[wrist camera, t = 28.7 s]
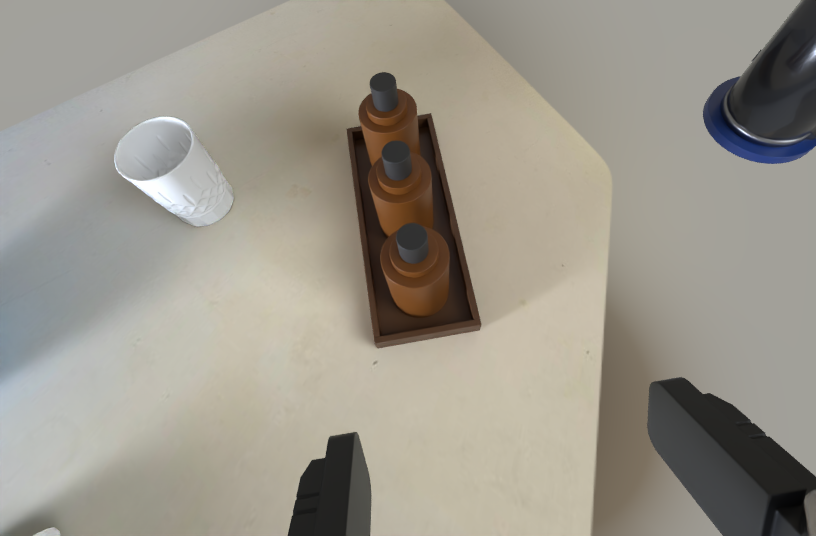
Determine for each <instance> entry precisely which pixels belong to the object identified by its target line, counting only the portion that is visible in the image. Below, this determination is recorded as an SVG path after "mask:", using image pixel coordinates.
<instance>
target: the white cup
mask: <svg viewBox="0 0 816 536" xmlns="http://www.w3.org/2000/svg"><path fill="white" fill-rule="evenodd" d="M114 162H115V166H116V168H117V170H118V172H119V173H120V174H121V175H122V176H123V177H125V178H126V179H127V180H129V181H130V182H131V183H132V184H134V185H135V186H136V187H138V188H139V189H140V190H142V191H143V192H144V193H145V194H147V195H148V196H149V197H151V198H152V199H153V200H155V201H156V202H157V203H159V204H160V205H162V206H163V207H164V208H166V209H167V210H168V211H170V212H172V213H173V214H175V215H176V216H177V217H179V218H180V219H181V220H183V221H184V222H185V223H188V224H191V225H193V226H208V225H211V224H213V223H215V222H217V221H219V220H221V219H222V218H223V217H224V216H225V215H226V214H227V213H228V211H229V210H230V208H231V206H232V203H233V200H234V196H233V189H232V187H231V186H230V184H229V183H228V182H227V180H226V179H225V177H224V176H223V174H222V172H221V170H220V169H219V167H218V166H217V164H216V163H215V161H214V159H213V158H212V157H211V155H210V154H209V152H208V151H207V150H206V148H205V147H204V145H203V144H202V143H201V141H200V140H199V138H198V137H197V136H196V134H195V133H194V131H193V130H192V129H191V127H190V126H189V125H188V124H187V123H186V122H185V121H183V120H182V119H179V118H177V117H172V116H159V117H154V118H151V119H148V120H145V121H143V122H141V123H139V124H137V125H136V126H134V127H133V128H132V129H130V130H129V131H128V132H127V133H126V134H125V135H124V136H123V138H122V139H121V140H120V142H119V144H118V146H117V148H116V151H115V156H114Z"/></svg>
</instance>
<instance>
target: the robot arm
mask: <svg viewBox="0 0 816 536" xmlns="http://www.w3.org/2000/svg"><path fill="white" fill-rule="evenodd" d="M752 61H753V62H752V63H751V65H750V66H749V67H748V68H747V69H746V71H745V72H744V73H743V75H742V76H741V77H740V78H739V80H738V81H737V82H736V83H735V84H734V85H733V86H732V87H731V88H730V89H729V91H728V92H727V93H726V94H725V96H724V97H723V99H722V102H721V114H722V117H723V119H724V121H725V123H726V124H727V126H728V127H729V128H730V129H731V130H732V131H733V132H734V133H736V134H737V135H738V136H740V137H741V138H743V139H745V140H747V141H749V142H751V143H754V144H757V145H761V146H765V147H775V148H779V147H788V146H792V145H795V144H797V143H799V142H801V141H803V140H805V139H809V140H814V139H815V138H816V0H801V1H800V3H799V4H798V5H797V6H796V8H795V9H794V10H793V11H792V13H791V14H790V15H789V17H788V18H787V19H786V20H785V22H784V23H783V24H782V25H781V27H780V28H779V29H778V30H777V32H776V33H775V34H774V35H773V37H772V38H771V39H770V40H769V42H768V43H767V44H766V45H765V47H764V48H763V49H762V50H760V51H759V53H758V54H757V55H756V57H755V58H754V59H753V60H752ZM647 426H648V434H649V437H650V440H651V442H652V444H653V446H654V448H655V450H656V451H657V452H658V454H659V455H660V456H661V457H662V459H663V460H664V461H665V462H666V464H667V465H668V466H669V468H670V469H671V470H672V471H673V473H674V474H675V475H676V477H677V478H678V479H679V480H680V482H681V483H682V484H683V486H684V487H685V488H686V489H687V491H688V492H689V493H690V494H691V495H692V497H693V498H694V499H695V501H696V502H697V503H698V505H699V506H700V507H701V508H702V510H703V511H704V512H705V513H706V515H707V516H708V517H709V519H710V520H711V521H712V522H713V524H714V525H715V526H716V528H717V529H718V530H719V531H720V533H721V534H722V535H723V536H816V477H815V476H814V475H813V474H812V473H811V472H810V471H809V470H807V469H806V468H805V467H804V466H803V465H802V464H800V463H799V462H798V461H797V460H796V459H795V458H794V457H792V456H791V455H790V454H789V453H788V452H787V451H785V450H784V449H783V448H782V447H781V446H780V445H778V444H777V443H776V442H775V441H774V440H773V439H772V438H770V437H767V436H766V435H765V432H763V431H762V430H761V429H760V428H759V427H758V426H756V425H755V424H754V423H753V424H752V423H751V421H750V419H748V418H747V417H746V416H745V415H744V414H742V413H741V412H740V411H739V410H738V409H737V408H736V407H734V406H733V405H732V404H730V403H728V402H726V401H724V400H722V399H720V398H718V397H716V396H714V395H712V394H710V393H708V394H702V393H701V392H700V391H699V390H698V389H696V388H695V387H694V386H693V385H692V384H691V383H690V382H689V381H688V380H686V379H685V378H682V377H679V378H673V379H667V380H661V381H655V382H652V383H651V384H650V388H649V406H648V424H647ZM296 497H297V500H296V501H295V505H294V510H293V516H292V519H291V523H290V528H289V532H288V536H370V525H371V484H370V477H369V472H368V468H367V465H366V461H365V457H364V453H363V450H362V446H361V442H360V439H359V435H358V433H357V432H353V433H347V434H341V435H335V436H330V437H329V439H328V445H327V451H326V457H325V458H322V459H316V460H312V461H311V462H310V464H309V465H308V467H307V469H306V470H305V472H304V473H303V475H302V476H301V478H300V483H299V487H298V492H297V496H296Z"/></svg>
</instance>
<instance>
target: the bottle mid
mask: <svg viewBox="0 0 816 536" xmlns="http://www.w3.org/2000/svg"><path fill="white" fill-rule="evenodd" d="M381 154H382V157H380V158H379V159H378V160H377V161H376V162H375V163H374V164H373V166H372V167H371V169H370V172H369V176H368V182H369V186H370V190H371V193H372V197H373V200H374V204H375V207H376V211H377V214H378V218H379V221H380V225H381V228H382V231H383V233H384V235H385V236H386V237H387V238H388V237H389V236H390V235H392V234H393V233H394V232H395V231H397V230H399V229H400V228H401V227H402V226H403V225H405V224H408V223H417V224H419V225H421V226H425V227H428V228H431V229H432V228H433V224H434V217H433V196H432V176H431V169H430V167H429V165H428V163H427V162H426V161H425V160H424V159H423V158H422V157H421V156H419V155H418V154H415V153H413V152H410V149H409V146H408V145H407V144H406V143H404V142H402V141H397V140H396V141H391V142H389V143H387V144H386V145H385V146H384V147H383V149H382V153H381Z"/></svg>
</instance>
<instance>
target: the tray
mask: <svg viewBox="0 0 816 536" xmlns="http://www.w3.org/2000/svg"><path fill="white" fill-rule="evenodd" d="M417 117H418V129H419V141H420V154H421V157H422V158H423V159H424V160H425V161H426V162H427V163H428V165H429V167H430V169H431V176H432V196H433V217H434V224H433V228H432V229H433V230H434V231H436V232H437V233H439V234H440V235H441V236H442V237H443V239H444V240H445V241H446V243H447V246H448V248H449V256H450V259H449V293H448V298H447V301H446V303H445V305H444V306H443V307H442V309H441V310H440V311H438V312H437V313H435V314H434V315H432V316H429V317H425V318H415V317H411V316H408V315H406V314H404V313H403V312H401V311H400V310H399V309H398V308H397V306H396V305H395V303H394V301H393V298H392V295H391V292H390V289H389V287H388V284H387V281H386V278H385V275H384V272H383V269H382V266H381V261H380V255H381V250H382V247H383V245H384V243H385V241H386V240H387V239H388V238H387V237H386V236H385V235H384V233H383V231H382V228H381V225H380V221H379V218H378V214H377V211H376V207H375V204H374V200H373V197H372V193H371V190H370V186H369V182H368V176H369V172H370V169H371V167H372V166H371V162H370V158H369V154H368V150H367V147H366V143H365V139H364V135H363V131H362V127H361V126H359V127H354V128H348V129H347V136H348V143H349V151H350V159H351V166H352V174H353V182H354V189H355V197H356V205H357V212H358V220H359V228H360V235H361V243H362V251H363V258H364V266H365V274H366V281H367V289H368V297H369V304H370V312H371V320H372V327H373V335H374V343H375V345H376V346H377V348H383V347H388V346H394V345H399V344H405V343H411V342H416V341H422V340H427V339H433V338H439V337H444V336H450V335H456V334H461V333H467V332H472V331H478V330H480V327H481V321H480V317H479V313H478V308H477V304H476V300H475V296H474V292H473V287H472V283H471V279H470V275H469V271H468V266H467V262H466V258H465V254H464V250H463V245H462V241H461V237H460V233H459V229H458V224H457V220H456V216H455V212H454V208H453V203H452V199H451V195H450V191H449V187H448V182H447V178H446V174H445V170H444V166H443V161H442V157H441V153H440V149H439V144H438V140H437V136H436V132H435V128H434V123H433V119H432V115H431V113H430V114H425V115H419V116H417Z"/></svg>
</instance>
